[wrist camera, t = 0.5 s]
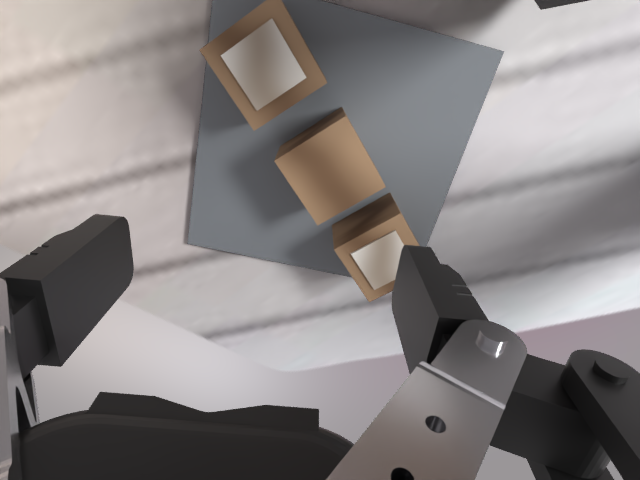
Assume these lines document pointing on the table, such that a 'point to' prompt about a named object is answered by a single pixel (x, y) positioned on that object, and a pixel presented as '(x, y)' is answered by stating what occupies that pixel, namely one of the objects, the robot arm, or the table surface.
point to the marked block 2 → (373, 245)
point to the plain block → (329, 167)
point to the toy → (555, 3)
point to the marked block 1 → (264, 63)
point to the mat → (365, 116)
